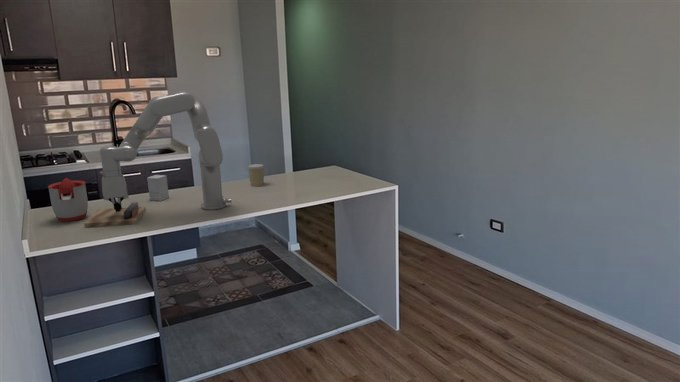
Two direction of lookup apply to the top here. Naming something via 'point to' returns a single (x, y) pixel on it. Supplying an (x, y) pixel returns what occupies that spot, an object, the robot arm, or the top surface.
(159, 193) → the supplement box
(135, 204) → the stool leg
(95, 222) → the flat wooden plank
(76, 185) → the citrus juicer
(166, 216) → the top surface
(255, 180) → the coffee cup
